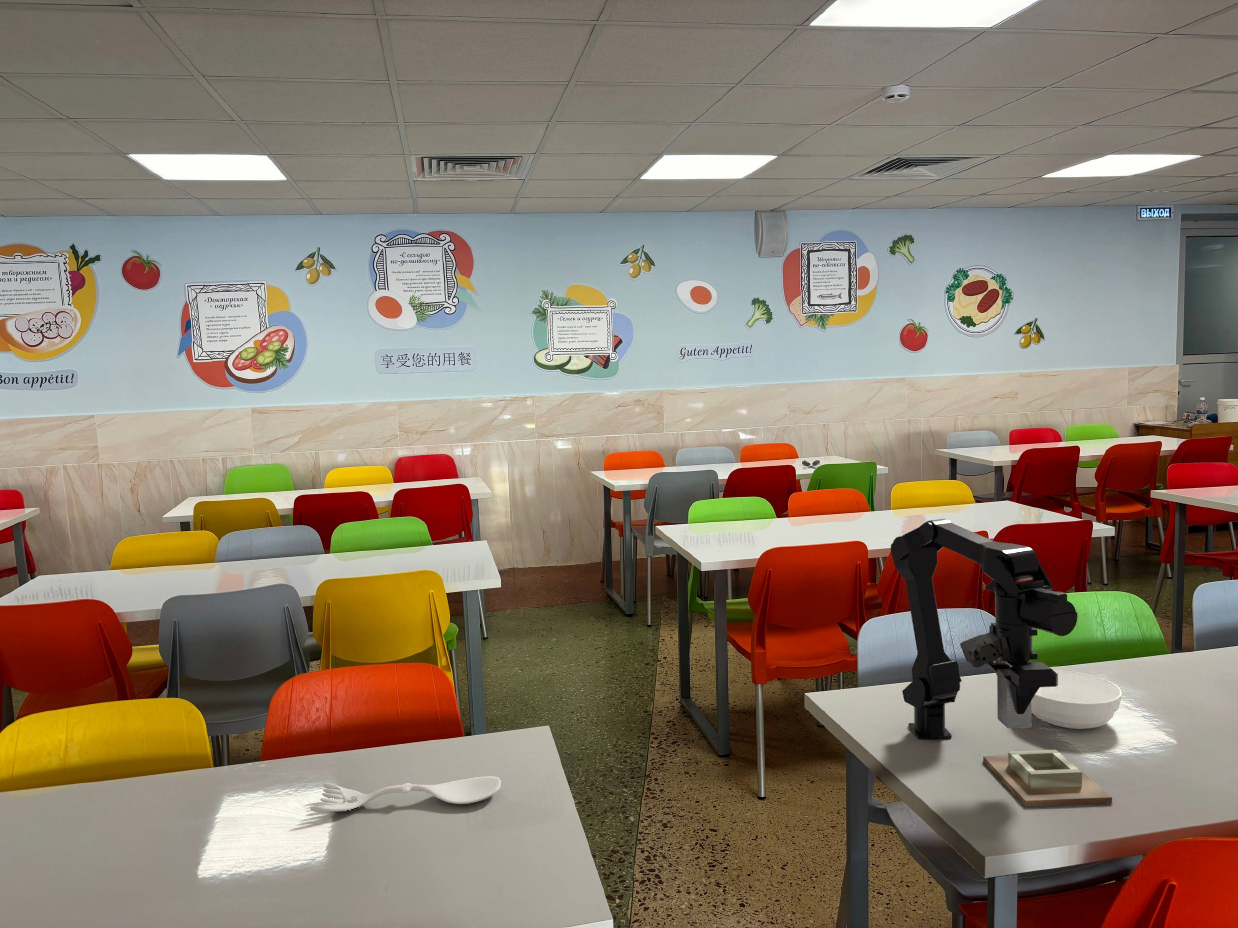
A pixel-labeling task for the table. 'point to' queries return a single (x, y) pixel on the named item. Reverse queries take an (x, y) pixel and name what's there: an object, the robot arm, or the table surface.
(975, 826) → the table surface
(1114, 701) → the bowl
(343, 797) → the white spork
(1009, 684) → the grey tall block
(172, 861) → the table surface
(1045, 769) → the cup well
